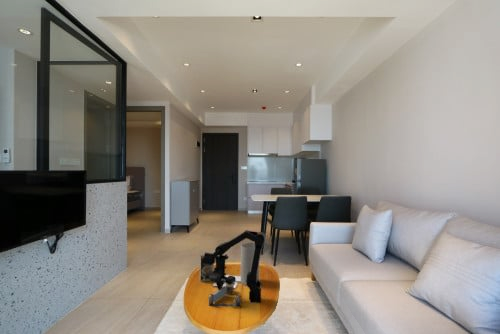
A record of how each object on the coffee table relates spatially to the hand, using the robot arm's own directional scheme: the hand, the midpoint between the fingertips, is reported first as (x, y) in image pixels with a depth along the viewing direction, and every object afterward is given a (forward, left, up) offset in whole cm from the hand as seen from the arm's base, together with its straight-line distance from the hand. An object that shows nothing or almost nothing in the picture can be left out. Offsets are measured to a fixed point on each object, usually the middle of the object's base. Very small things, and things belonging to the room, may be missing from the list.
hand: (219, 291), depth 167 cm
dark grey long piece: (-4, +11, -3) cm, 12 cm away
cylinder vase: (-18, -22, -3) cm, 28 cm away
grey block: (-1, +3, -2) cm, 4 cm away
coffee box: (+12, -25, -3) cm, 28 cm away
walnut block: (-5, -6, -3) cm, 8 cm away
